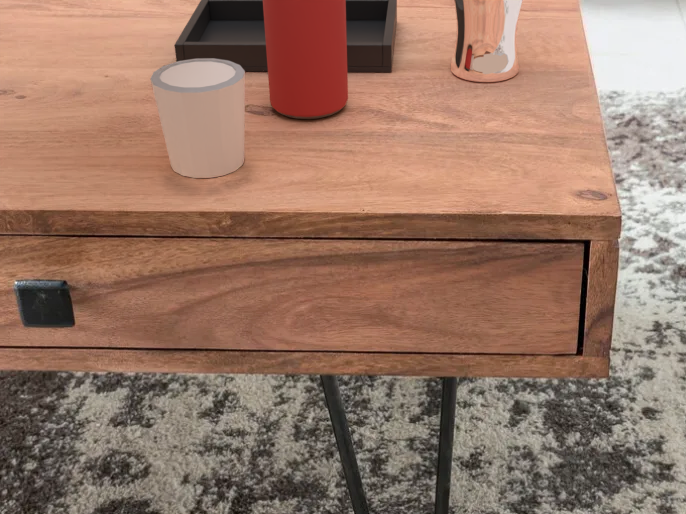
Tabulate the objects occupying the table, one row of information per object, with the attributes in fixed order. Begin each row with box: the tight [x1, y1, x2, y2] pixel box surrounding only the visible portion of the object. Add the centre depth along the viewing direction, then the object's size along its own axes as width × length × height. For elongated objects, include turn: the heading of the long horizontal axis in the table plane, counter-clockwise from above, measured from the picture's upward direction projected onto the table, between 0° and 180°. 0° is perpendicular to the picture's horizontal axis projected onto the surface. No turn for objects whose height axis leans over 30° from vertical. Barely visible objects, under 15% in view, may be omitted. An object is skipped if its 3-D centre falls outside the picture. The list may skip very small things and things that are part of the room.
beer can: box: [263, 0, 349, 120], centre depth 85 cm, size 7×7×12 cm
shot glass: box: [149, 58, 246, 179], centre depth 78 cm, size 7×7×7 cm
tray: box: [174, 0, 398, 73], centre depth 100 cm, size 20×14×2 cm
